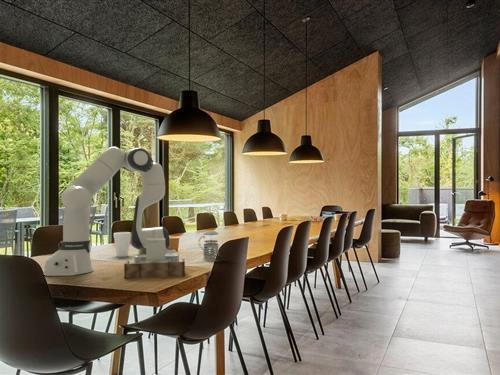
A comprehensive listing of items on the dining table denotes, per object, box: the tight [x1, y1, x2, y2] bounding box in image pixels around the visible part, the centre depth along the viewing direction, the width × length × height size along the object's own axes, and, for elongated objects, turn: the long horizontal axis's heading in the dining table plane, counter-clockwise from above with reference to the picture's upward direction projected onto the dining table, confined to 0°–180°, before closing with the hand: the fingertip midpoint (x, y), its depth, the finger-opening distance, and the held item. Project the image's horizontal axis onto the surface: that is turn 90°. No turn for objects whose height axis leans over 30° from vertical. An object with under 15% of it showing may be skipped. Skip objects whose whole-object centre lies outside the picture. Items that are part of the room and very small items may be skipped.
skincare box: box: [145, 238, 165, 261], centre depth 186 cm, size 8×7×16 cm
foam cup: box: [113, 231, 132, 258], centre depth 242 cm, size 10×9×13 cm
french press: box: [198, 212, 220, 262], centre depth 227 cm, size 10×12×25 cm
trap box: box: [123, 258, 186, 279], centre depth 184 cm, size 25×9×7 cm, turn 99°
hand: (156, 261), depth 189 cm, fingers closed, pressing on skincare box
